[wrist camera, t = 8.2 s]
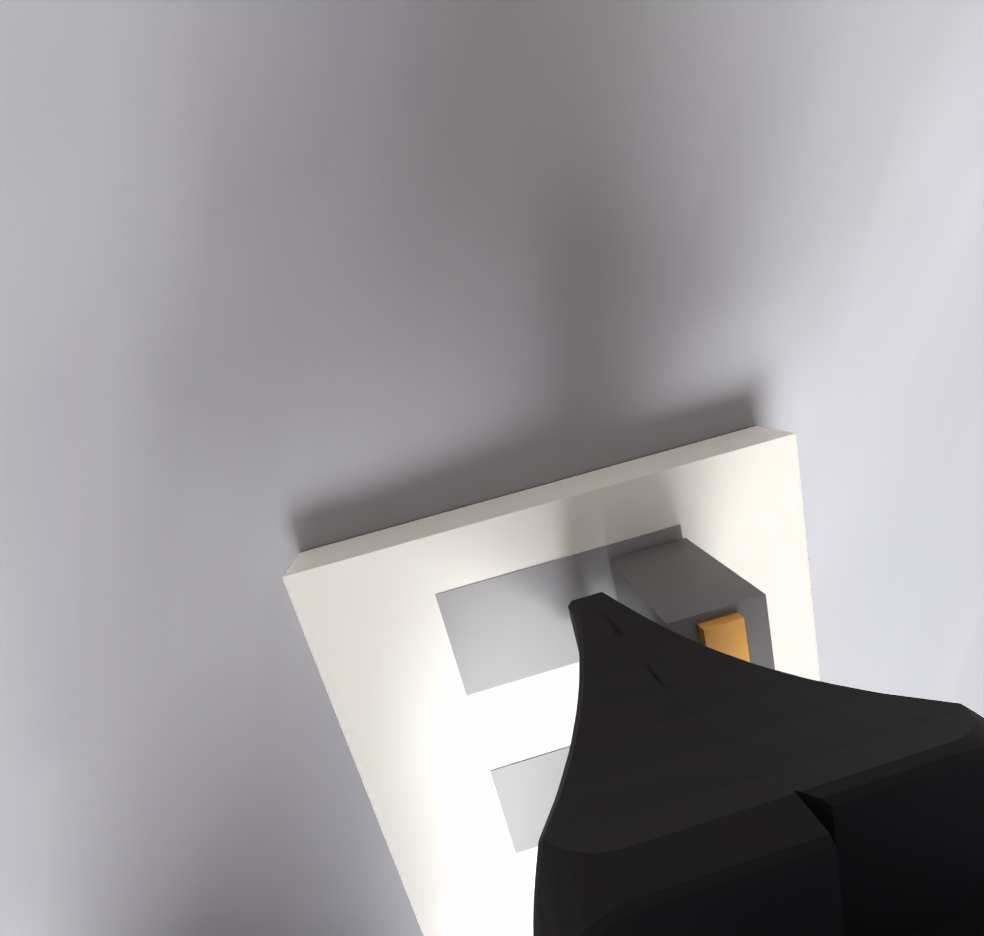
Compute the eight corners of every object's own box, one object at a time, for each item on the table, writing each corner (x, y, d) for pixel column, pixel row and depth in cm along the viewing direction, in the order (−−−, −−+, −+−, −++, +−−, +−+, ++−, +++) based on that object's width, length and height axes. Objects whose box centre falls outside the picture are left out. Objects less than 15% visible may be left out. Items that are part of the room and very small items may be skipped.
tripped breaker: (627, 642, 12) (690, 735, 9) (609, 559, 12) (671, 629, 9) (699, 620, 12) (785, 705, 9) (685, 537, 12) (772, 598, 9)
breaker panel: (464, 988, 17) (475, 1223, 12) (299, 552, 13) (221, 659, 8) (809, 873, 17) (941, 1055, 13) (756, 425, 13) (923, 458, 9)
